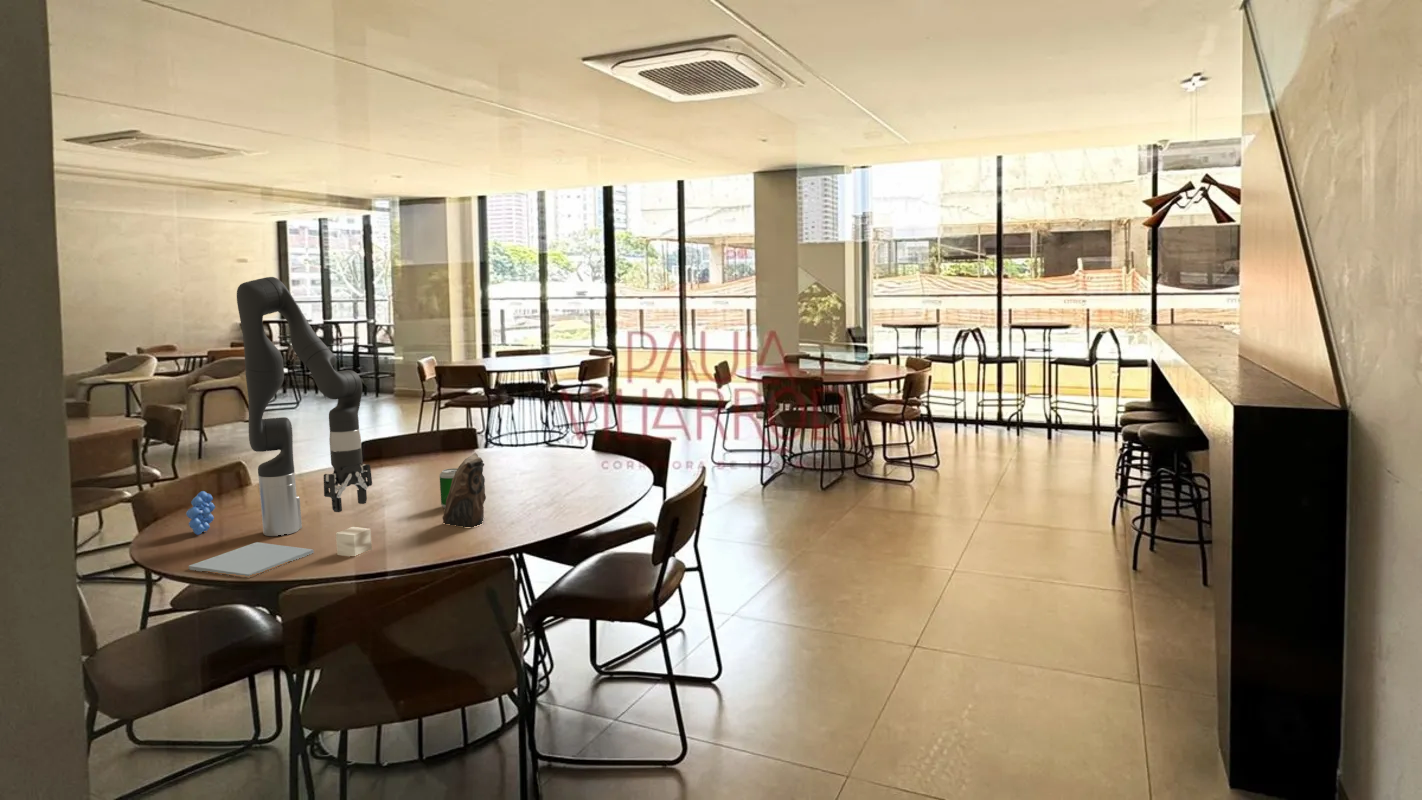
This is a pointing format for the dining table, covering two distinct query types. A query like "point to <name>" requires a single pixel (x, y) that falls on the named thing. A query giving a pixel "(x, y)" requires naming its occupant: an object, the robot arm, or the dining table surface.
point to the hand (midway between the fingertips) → (350, 507)
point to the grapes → (201, 512)
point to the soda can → (446, 483)
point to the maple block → (353, 541)
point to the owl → (466, 494)
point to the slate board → (251, 559)
